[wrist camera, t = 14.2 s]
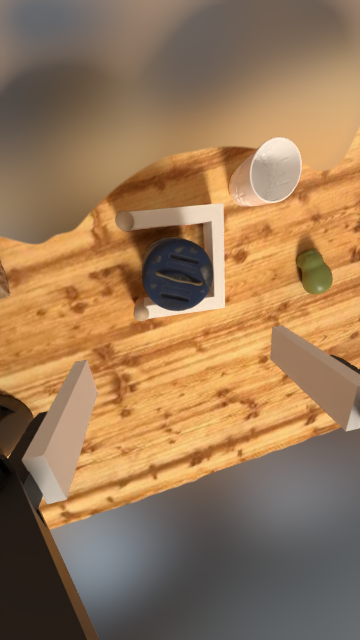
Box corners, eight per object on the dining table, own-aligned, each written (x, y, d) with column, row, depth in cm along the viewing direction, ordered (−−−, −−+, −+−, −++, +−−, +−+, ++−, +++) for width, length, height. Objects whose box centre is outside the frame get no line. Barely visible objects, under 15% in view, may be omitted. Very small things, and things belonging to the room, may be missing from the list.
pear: (317, 300, 44) (302, 254, 42) (301, 296, 49) (287, 256, 47) (341, 288, 44) (329, 242, 41) (323, 286, 49) (310, 245, 47)
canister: (156, 227, 39) (163, 220, 23) (199, 252, 42) (232, 262, 26) (135, 273, 42) (127, 297, 25) (176, 293, 45) (194, 327, 28)
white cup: (257, 214, 41) (289, 208, 32) (220, 204, 40) (242, 194, 30) (271, 168, 39) (310, 147, 30) (232, 154, 37) (261, 128, 28)
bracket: (136, 310, 45) (135, 322, 39) (118, 215, 38) (113, 211, 32) (215, 299, 47) (225, 309, 41) (212, 206, 40) (224, 201, 34)
